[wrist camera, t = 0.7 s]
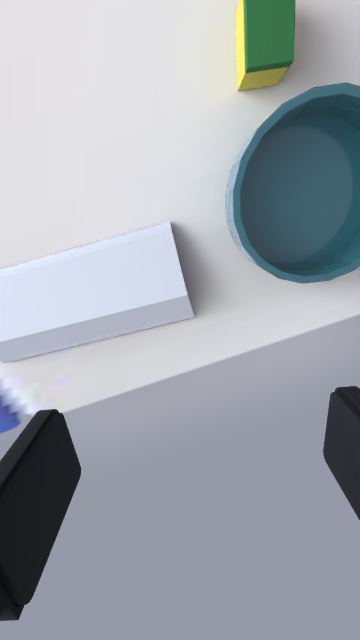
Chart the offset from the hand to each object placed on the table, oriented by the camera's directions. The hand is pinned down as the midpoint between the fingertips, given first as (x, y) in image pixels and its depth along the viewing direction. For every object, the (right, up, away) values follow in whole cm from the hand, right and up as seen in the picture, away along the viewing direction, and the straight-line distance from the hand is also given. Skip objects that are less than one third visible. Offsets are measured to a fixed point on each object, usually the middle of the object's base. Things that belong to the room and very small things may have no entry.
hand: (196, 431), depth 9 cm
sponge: (+7, +31, +17) cm, 35 cm away
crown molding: (-14, +7, +26) cm, 31 cm away
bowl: (+14, +18, +21) cm, 31 cm away
